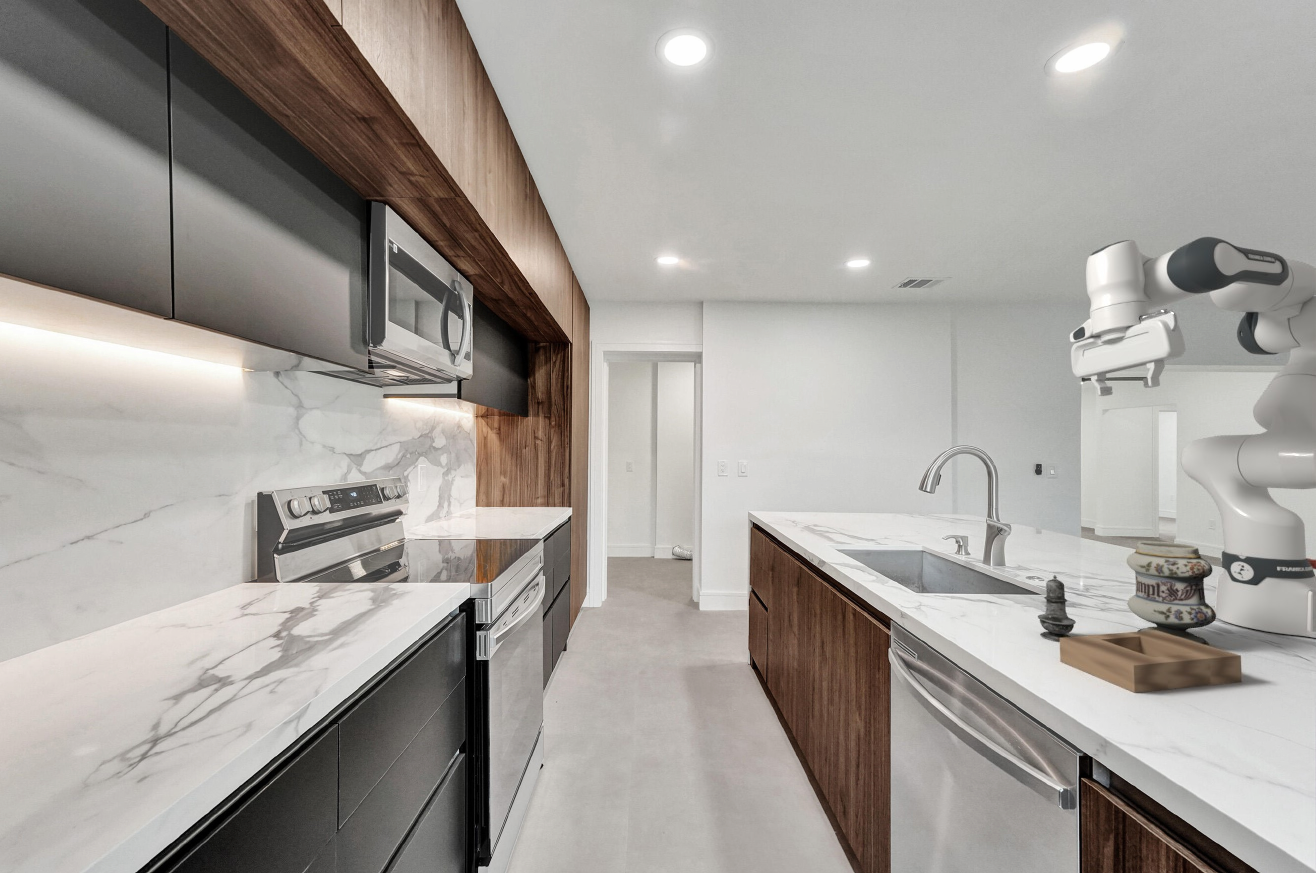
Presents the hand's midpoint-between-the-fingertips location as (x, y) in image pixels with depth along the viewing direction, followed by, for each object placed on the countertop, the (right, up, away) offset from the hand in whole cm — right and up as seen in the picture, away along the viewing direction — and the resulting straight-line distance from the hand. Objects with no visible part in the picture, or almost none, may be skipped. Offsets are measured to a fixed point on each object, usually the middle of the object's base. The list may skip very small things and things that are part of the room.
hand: (1127, 391), depth 104 cm
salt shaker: (-16, -48, -2) cm, 50 cm away
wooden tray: (-13, -47, -18) cm, 52 cm away
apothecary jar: (+5, -48, -4) cm, 48 cm away
